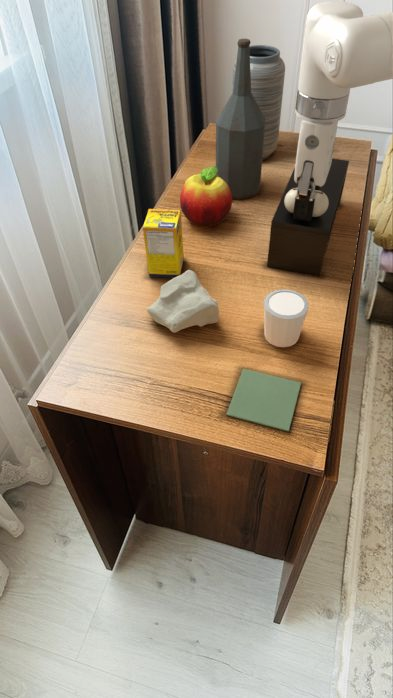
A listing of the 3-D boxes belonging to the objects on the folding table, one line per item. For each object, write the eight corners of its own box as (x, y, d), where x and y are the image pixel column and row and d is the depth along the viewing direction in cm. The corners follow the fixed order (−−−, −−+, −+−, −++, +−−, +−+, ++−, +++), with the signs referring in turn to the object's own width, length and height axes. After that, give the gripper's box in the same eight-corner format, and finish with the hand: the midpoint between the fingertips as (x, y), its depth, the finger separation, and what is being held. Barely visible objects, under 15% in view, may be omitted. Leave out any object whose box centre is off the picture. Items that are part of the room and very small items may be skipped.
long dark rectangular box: (339, 204, 108) (349, 160, 101) (320, 276, 92) (329, 230, 84) (294, 197, 110) (300, 154, 103) (266, 266, 94) (271, 220, 87)
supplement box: (183, 259, 96) (181, 208, 88) (180, 278, 92) (177, 228, 84) (153, 257, 97) (148, 207, 89) (148, 277, 93) (142, 226, 85)
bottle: (247, 174, 118) (255, 28, 96) (268, 193, 112) (282, 42, 90) (208, 184, 115) (207, 36, 93) (227, 204, 109) (231, 51, 87)
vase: (274, 165, 121) (284, 61, 104) (227, 162, 122) (229, 58, 105) (278, 144, 128) (288, 43, 111) (234, 141, 130) (237, 41, 113)
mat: (301, 383, 75) (301, 382, 74) (288, 431, 69) (288, 430, 69) (243, 369, 77) (243, 368, 76) (226, 415, 71) (226, 414, 71)
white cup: (255, 343, 80) (257, 311, 75) (267, 316, 85) (271, 284, 80) (296, 355, 78) (302, 323, 73) (307, 326, 83) (313, 294, 78)
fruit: (172, 227, 104) (169, 182, 96) (194, 201, 110) (192, 158, 103) (219, 238, 100) (220, 193, 93) (239, 211, 107) (241, 167, 100)
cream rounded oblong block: (328, 210, 88) (332, 187, 85) (324, 223, 86) (328, 200, 82) (285, 203, 90) (288, 181, 87) (280, 216, 87) (283, 193, 84)
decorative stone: (136, 312, 84) (158, 257, 81) (173, 317, 91) (194, 266, 88) (178, 343, 77) (203, 284, 75) (214, 345, 84) (238, 291, 82)
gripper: (339, 129, 68) (318, 241, 81) (354, 85, 79) (333, 190, 92) (284, 123, 70) (273, 233, 83) (306, 80, 80) (293, 184, 94)
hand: (305, 210), depth 87 cm, fingers closed on cream rounded oblong block, 4 cm apart
